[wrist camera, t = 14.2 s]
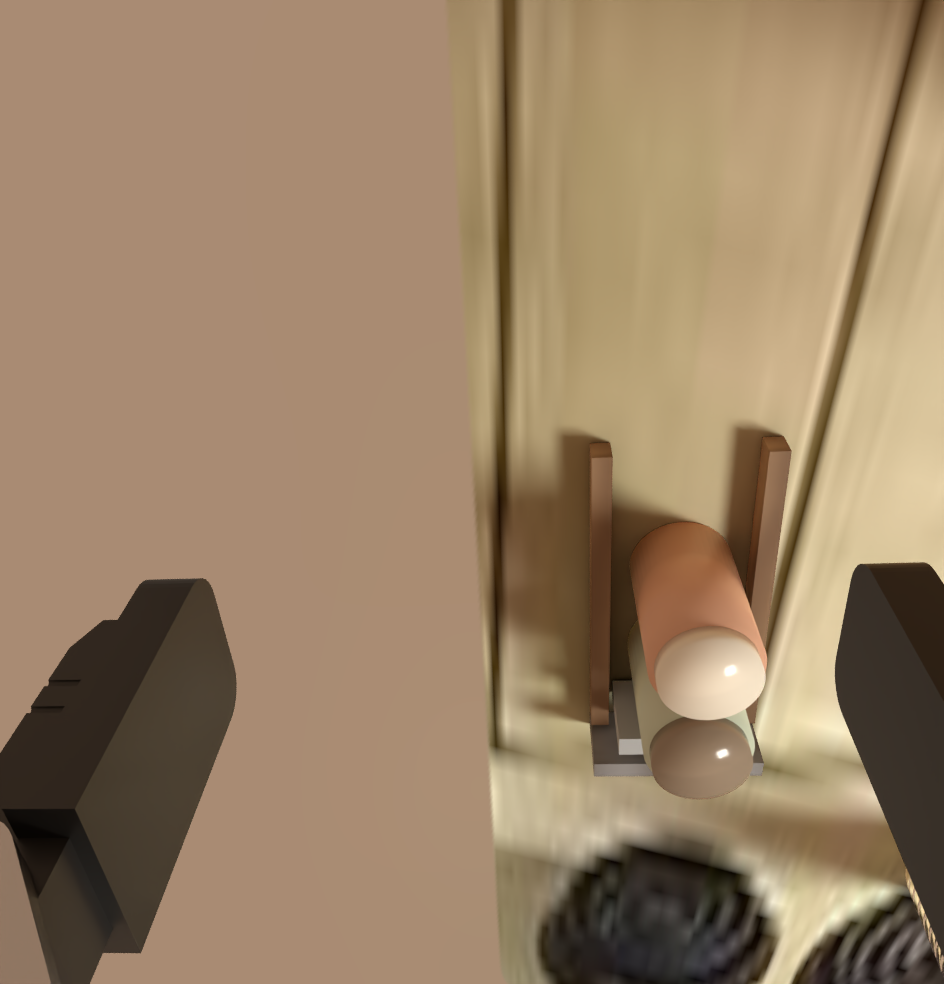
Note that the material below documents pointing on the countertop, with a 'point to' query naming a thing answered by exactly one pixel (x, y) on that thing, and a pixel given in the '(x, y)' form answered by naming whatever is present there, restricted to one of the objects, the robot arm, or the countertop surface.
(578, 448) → the countertop surface
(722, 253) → the countertop surface
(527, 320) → the countertop surface
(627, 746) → the plate
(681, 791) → the sage jar
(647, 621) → the terracotta jar
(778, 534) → the lane
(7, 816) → the robot arm
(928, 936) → the water bottle
